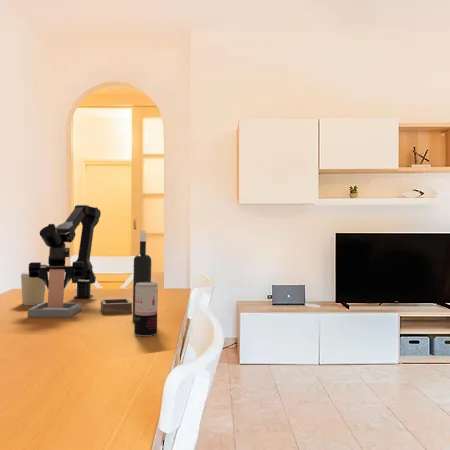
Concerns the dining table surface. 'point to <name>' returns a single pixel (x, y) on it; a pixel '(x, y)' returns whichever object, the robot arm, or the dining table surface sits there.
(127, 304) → the walnut sleeve
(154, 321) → the beverage can
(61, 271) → the terracotta block
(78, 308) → the grey square tray
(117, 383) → the dining table surface
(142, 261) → the wine bottle
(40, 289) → the coffee cup
